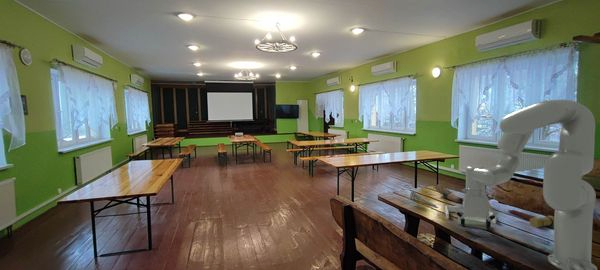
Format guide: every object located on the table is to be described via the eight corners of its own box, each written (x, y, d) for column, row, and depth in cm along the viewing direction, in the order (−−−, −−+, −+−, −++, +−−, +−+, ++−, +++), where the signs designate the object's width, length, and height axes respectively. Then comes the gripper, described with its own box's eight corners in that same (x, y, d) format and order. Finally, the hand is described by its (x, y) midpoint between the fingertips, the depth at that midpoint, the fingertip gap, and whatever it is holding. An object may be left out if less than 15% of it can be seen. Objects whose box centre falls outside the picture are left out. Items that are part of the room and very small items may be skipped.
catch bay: (496, 223, 135) (496, 217, 134) (447, 218, 143) (446, 213, 143) (490, 214, 146) (490, 208, 146) (445, 210, 155) (444, 205, 155)
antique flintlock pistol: (439, 194, 184) (439, 179, 183) (481, 208, 156) (481, 191, 155) (433, 195, 182) (432, 181, 181) (474, 209, 154) (474, 192, 153)
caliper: (410, 199, 178) (410, 189, 178) (411, 198, 179) (411, 189, 178) (436, 208, 160) (436, 198, 159) (438, 208, 160) (438, 197, 160)
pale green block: (487, 230, 129) (487, 222, 129) (458, 225, 136) (458, 217, 136) (487, 226, 133) (487, 218, 133) (459, 221, 140) (459, 214, 140)
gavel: (499, 207, 148) (516, 205, 149) (500, 215, 148) (516, 213, 149) (538, 219, 127) (556, 217, 128) (538, 229, 127) (557, 226, 128)
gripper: (454, 193, 126) (455, 228, 128) (499, 195, 119) (499, 233, 121) (453, 188, 133) (453, 222, 135) (495, 190, 126) (495, 226, 128)
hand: (475, 227), depth 128 cm, fingers open, 9 cm apart
